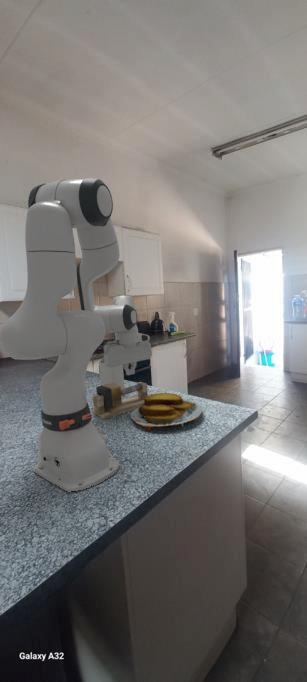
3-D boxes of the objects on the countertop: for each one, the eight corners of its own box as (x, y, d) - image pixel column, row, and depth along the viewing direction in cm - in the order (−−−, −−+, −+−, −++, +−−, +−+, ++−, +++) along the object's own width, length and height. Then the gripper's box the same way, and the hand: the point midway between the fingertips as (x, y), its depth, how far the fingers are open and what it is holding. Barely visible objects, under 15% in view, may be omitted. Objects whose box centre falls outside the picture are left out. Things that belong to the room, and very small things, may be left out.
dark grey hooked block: (112, 407, 105) (111, 388, 104) (107, 409, 104) (105, 390, 103) (103, 403, 110) (101, 385, 109) (97, 404, 108) (96, 386, 107)
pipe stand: (151, 402, 116) (150, 384, 114) (103, 420, 102) (101, 399, 100) (138, 397, 122) (136, 380, 121) (90, 413, 108) (89, 394, 107)
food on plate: (152, 442, 85) (151, 421, 84) (118, 414, 106) (117, 397, 105) (219, 419, 97) (218, 400, 96) (176, 399, 119) (175, 383, 118)
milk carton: (125, 394, 127) (121, 351, 124) (114, 399, 121) (111, 354, 119) (112, 392, 131) (109, 350, 128) (101, 397, 125) (97, 353, 122)
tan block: (121, 404, 108) (120, 386, 107) (112, 407, 105) (111, 388, 104) (112, 400, 113) (111, 382, 111) (103, 403, 110) (101, 385, 109)
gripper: (107, 342, 102) (111, 381, 104) (152, 335, 115) (155, 370, 116) (98, 342, 107) (102, 379, 108) (142, 335, 120) (145, 368, 121)
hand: (130, 374), depth 113 cm, fingers closed
